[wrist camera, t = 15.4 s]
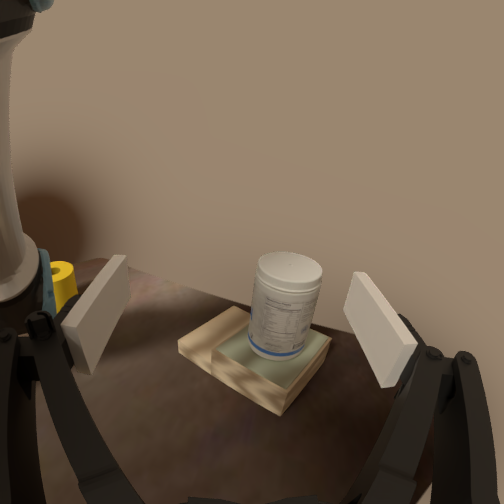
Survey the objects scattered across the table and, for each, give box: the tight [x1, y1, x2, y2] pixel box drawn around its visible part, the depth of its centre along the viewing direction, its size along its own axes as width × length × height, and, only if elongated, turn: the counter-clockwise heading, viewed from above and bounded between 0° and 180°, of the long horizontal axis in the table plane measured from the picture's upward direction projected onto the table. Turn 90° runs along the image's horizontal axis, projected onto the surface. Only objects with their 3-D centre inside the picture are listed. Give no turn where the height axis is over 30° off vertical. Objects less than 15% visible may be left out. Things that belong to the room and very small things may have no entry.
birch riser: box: [178, 306, 332, 416], centre depth 50 cm, size 22×16×6 cm
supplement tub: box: [248, 252, 323, 361], centre depth 44 cm, size 10×10×15 cm
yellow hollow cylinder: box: [50, 261, 78, 313], centre depth 55 cm, size 10×10×9 cm
